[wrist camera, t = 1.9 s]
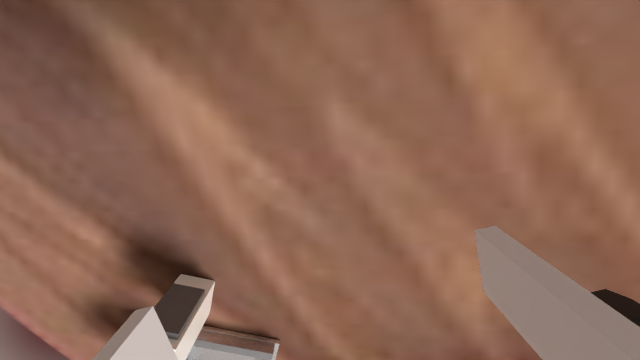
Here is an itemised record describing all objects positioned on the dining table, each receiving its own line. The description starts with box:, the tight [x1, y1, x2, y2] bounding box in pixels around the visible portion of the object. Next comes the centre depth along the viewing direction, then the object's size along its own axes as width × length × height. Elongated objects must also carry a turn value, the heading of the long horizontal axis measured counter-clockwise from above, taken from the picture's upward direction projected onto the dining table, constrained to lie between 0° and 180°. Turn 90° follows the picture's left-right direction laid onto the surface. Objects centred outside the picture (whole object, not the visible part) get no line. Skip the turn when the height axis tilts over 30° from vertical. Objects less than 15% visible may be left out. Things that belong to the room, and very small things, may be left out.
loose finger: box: [154, 274, 215, 360], centre depth 30 cm, size 4×5×10 cm
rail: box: [129, 312, 280, 360], centre depth 36 cm, size 18×8×2 cm, turn 77°
